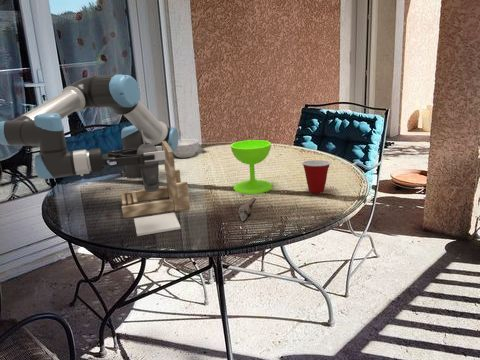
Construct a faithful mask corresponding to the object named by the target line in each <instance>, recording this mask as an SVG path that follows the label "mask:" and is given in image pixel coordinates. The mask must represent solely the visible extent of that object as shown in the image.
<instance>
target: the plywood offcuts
mask: <svg viewBox="0 0 480 360" xmlns="http://www.w3.org/2000/svg"><path fill="white" fill-rule="evenodd" d="M131 192H132V191H131ZM121 196H122V204H121V205H122V206H127V205H134V204H139V203H138V202H137V198H136V194H135V192H132V197H133V203H132V202H131V197H130V194H129V195H127V200H128V203H126V201H125V194H121Z"/></svg>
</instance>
